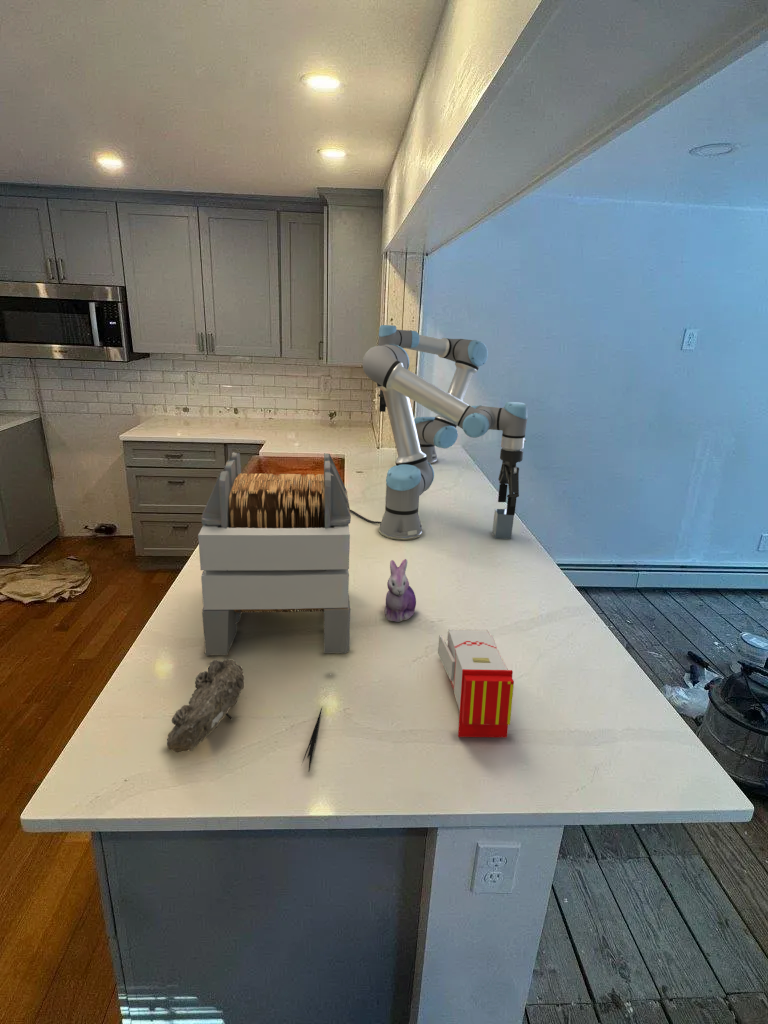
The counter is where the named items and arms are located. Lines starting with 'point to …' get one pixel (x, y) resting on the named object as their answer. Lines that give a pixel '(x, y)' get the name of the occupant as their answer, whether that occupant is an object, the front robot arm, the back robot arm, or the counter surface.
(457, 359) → the back robot arm
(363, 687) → the counter surface
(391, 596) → the figurine
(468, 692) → the toy
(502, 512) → the brick
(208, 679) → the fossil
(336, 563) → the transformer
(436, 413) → the front robot arm
